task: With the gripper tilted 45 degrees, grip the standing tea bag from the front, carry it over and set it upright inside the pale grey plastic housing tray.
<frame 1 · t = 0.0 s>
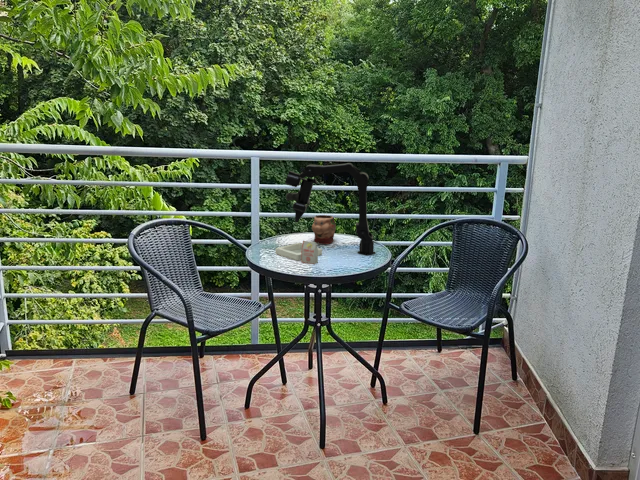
hand: (297, 220, 276), 15 cm above the table, tool pointing down, fingers open, 9 cm apart
housing tray: (298, 254, 272), on the table
decorative planter: (324, 241, 298), on the table
tea bag: (309, 262, 260), on the table
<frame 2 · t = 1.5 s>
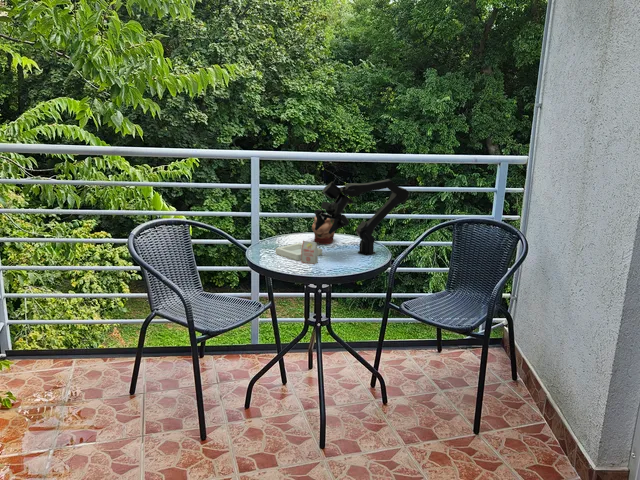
hand: (322, 231, 262), 13 cm above the table, tool tilted 45°, fingers open, 9 cm apart
nothing on the table moved.
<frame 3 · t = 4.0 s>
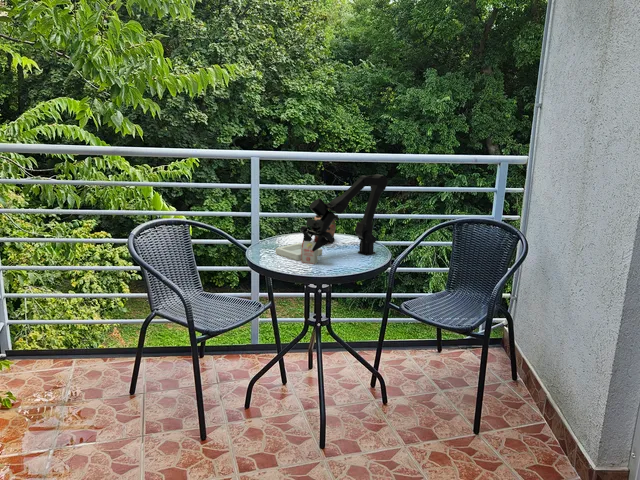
hand: (307, 249, 257), 7 cm above the table, tool tilted 45°, fingers closed on tea bag, 7 cm apart
tea bag: (309, 262, 260), on the table, touching gripper
everything else where it was.
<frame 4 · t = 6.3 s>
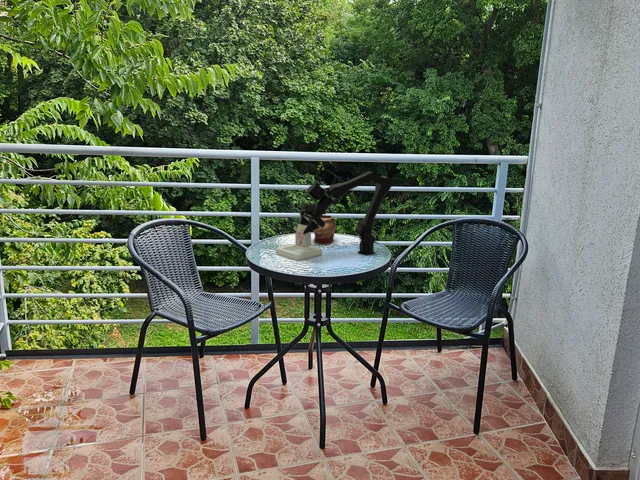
hand: (300, 231, 262), 13 cm above the table, tool tilted 45°, fingers closed on tea bag, 7 cm apart
tea bag: (303, 245, 264), point 6 cm above the table, touching gripper
everything else where it was.
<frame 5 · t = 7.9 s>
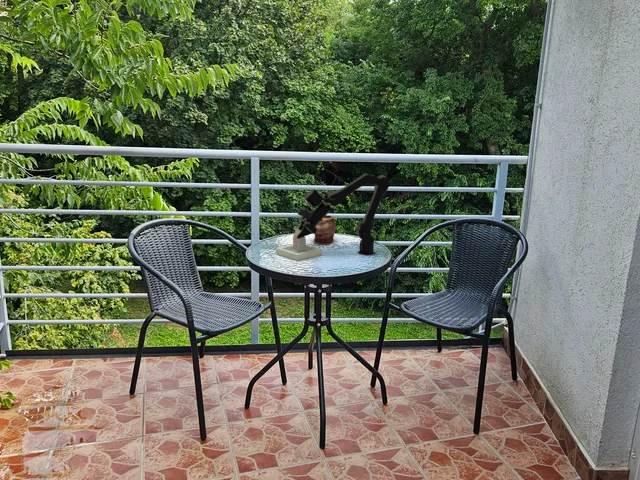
hand: (296, 236, 270), 9 cm above the table, tool tilted 45°, fingers closed on tea bag, 7 cm apart
tea bag: (299, 250, 272), point 2 cm above the table, touching gripper
everything else where it was.
when the fingers open (8 cm above the table, at t = 8.8 s): tea bag stays where it is, resting on housing tray.
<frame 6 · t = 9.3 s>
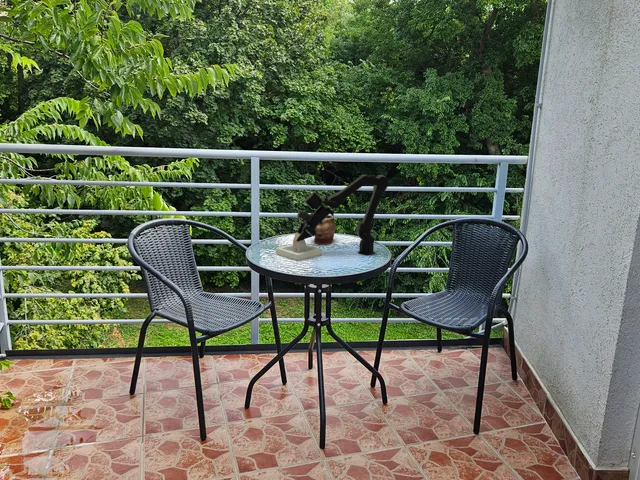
hand: (296, 238, 270), 8 cm above the table, tool tilted 45°, fingers open, 9 cm apart
tea bag: (299, 254, 272), resting on housing tray
everything else where it was.
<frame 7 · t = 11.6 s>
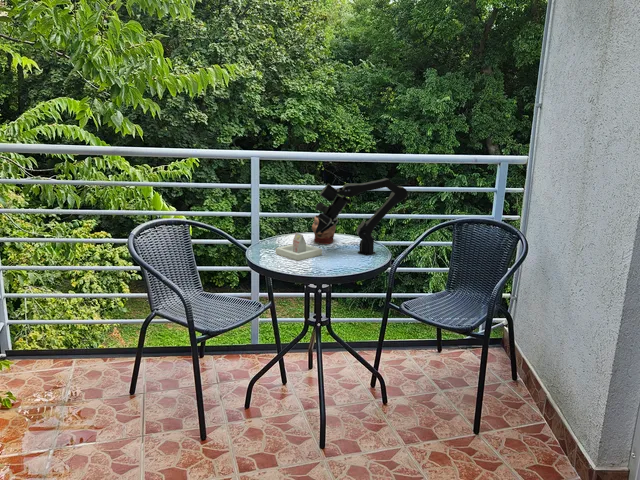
hand: (318, 232, 272), 10 cm above the table, tool tilted 35°, fingers open, 9 cm apart
nothing on the table moved.
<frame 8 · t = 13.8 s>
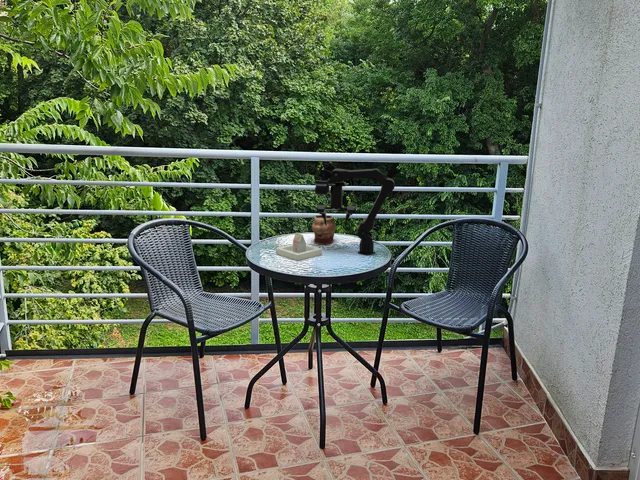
hand: (335, 226, 275), 13 cm above the table, tool pointing down, fingers open, 9 cm apart
nothing on the table moved.
at the end: tea bag inside the target area on the housing tray (0.2 cm from its centre), point 0.3 cm above the housing tray's base; tea bag tilted 0°; the gripper is holding nothing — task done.
